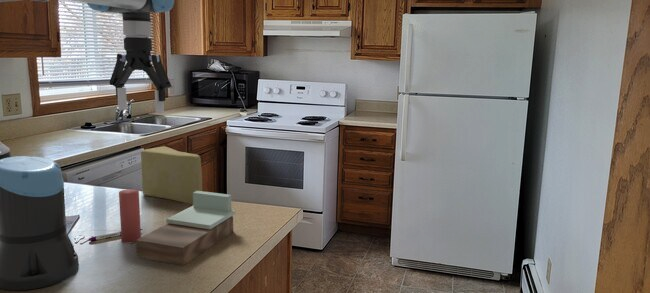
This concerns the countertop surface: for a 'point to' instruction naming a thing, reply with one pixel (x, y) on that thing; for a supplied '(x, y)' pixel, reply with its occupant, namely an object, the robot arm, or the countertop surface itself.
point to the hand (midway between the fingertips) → (141, 111)
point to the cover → (204, 211)
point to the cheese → (171, 174)
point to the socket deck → (180, 242)
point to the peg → (129, 215)
